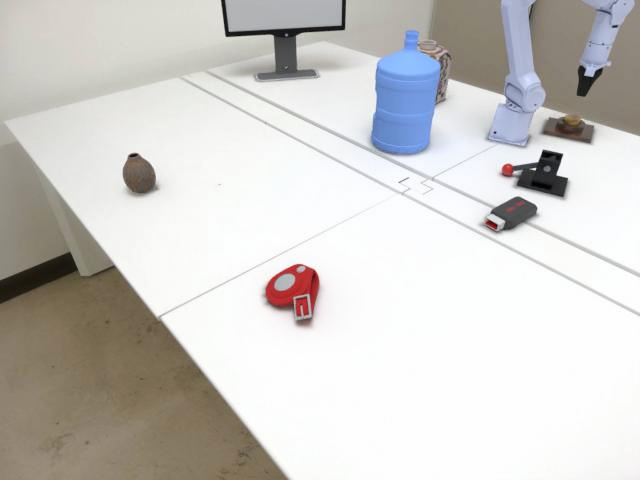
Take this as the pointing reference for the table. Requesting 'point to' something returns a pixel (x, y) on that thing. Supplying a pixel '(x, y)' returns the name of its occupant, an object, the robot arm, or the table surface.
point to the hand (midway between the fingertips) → (580, 95)
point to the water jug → (405, 99)
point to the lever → (521, 166)
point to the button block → (569, 130)
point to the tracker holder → (295, 289)
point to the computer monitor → (283, 27)
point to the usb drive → (510, 214)
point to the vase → (138, 174)
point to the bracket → (545, 175)
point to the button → (572, 119)
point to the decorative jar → (444, 60)
